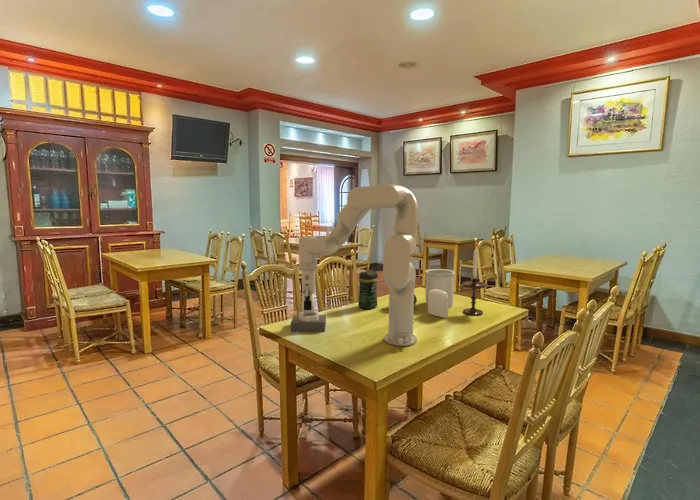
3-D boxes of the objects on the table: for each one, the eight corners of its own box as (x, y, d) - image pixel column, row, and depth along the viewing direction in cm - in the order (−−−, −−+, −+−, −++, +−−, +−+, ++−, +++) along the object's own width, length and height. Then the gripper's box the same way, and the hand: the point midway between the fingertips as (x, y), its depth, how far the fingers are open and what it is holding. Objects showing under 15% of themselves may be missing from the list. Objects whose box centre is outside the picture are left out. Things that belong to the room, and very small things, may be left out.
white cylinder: (313, 312, 163) (313, 294, 162) (301, 312, 163) (301, 294, 162) (314, 309, 168) (314, 291, 167) (303, 309, 168) (302, 291, 167)
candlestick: (488, 312, 188) (492, 240, 184) (478, 317, 181) (482, 242, 176) (467, 308, 196) (470, 238, 191) (457, 312, 188) (460, 240, 183)
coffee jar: (368, 310, 191) (369, 273, 189) (356, 307, 196) (356, 271, 194) (380, 306, 199) (380, 270, 196) (367, 303, 204) (367, 268, 201)
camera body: (324, 331, 162) (324, 317, 161) (290, 331, 162) (290, 317, 161) (326, 323, 172) (325, 310, 171) (294, 323, 171) (293, 310, 171)
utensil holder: (419, 305, 201) (420, 271, 199) (431, 299, 213) (432, 267, 211) (446, 310, 193) (447, 275, 190) (457, 303, 204) (459, 270, 202)
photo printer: (426, 313, 187) (426, 288, 185) (431, 312, 189) (432, 287, 188) (443, 319, 179) (444, 292, 177) (449, 317, 181) (450, 291, 180)
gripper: (315, 269, 155) (315, 314, 157) (318, 262, 171) (318, 302, 174) (296, 269, 154) (297, 314, 157) (301, 262, 171) (301, 302, 174)
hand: (308, 307), depth 165 cm, fingers closed on white cylinder, 5 cm apart
